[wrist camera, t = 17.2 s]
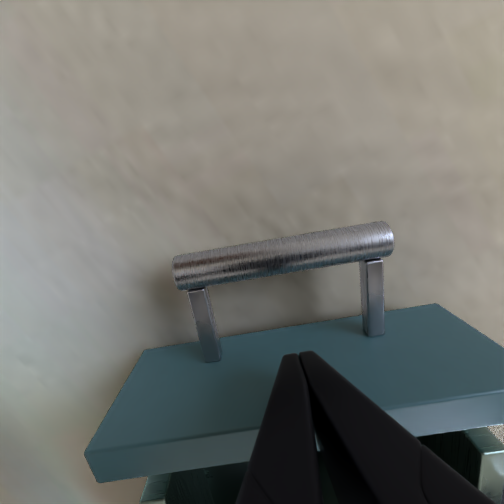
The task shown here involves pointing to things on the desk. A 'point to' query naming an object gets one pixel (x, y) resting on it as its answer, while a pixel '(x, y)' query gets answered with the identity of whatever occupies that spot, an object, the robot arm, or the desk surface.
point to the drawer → (295, 341)
